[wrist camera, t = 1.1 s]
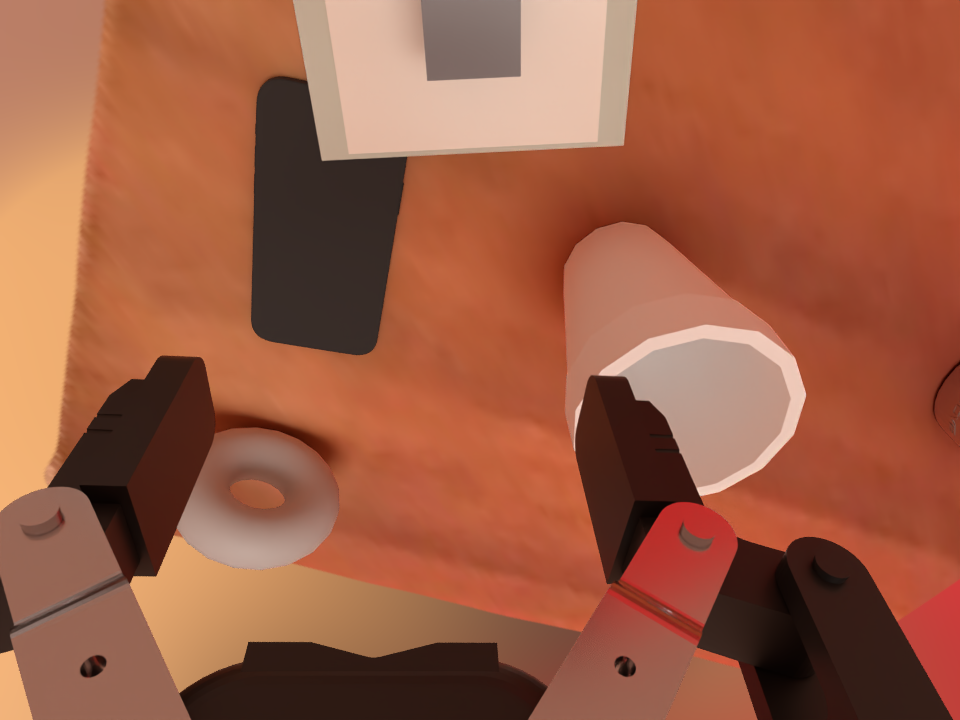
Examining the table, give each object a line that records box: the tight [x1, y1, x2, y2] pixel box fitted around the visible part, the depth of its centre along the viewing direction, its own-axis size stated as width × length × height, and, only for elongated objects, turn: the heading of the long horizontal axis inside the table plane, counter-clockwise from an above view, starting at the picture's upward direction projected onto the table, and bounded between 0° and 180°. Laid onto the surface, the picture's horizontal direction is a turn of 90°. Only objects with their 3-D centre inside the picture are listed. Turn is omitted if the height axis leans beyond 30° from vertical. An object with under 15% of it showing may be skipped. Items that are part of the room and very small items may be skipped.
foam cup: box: [564, 222, 806, 496], centre depth 31 cm, size 10×9×13 cm
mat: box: [293, 0, 637, 161], centre depth 28 cm, size 15×13×1 cm
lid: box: [325, 0, 607, 154], centre depth 25 cm, size 12×12×6 cm
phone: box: [251, 76, 407, 355], centre depth 34 cm, size 7×1×15 cm
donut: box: [177, 427, 339, 570], centre depth 39 cm, size 10×4×10 cm, turn 66°
